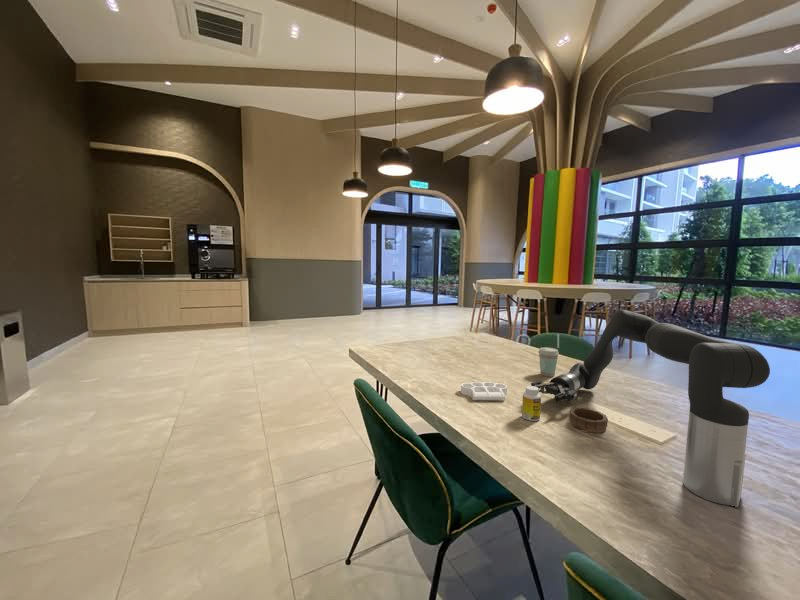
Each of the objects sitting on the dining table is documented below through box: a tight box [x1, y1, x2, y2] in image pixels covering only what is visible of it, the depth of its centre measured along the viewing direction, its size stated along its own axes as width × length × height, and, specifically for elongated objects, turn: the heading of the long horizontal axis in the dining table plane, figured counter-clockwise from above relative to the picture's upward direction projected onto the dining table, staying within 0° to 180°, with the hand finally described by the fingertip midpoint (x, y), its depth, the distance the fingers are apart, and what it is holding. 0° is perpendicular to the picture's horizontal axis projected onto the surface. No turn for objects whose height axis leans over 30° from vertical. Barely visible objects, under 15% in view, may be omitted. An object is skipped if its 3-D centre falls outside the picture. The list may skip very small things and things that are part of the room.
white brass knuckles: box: [460, 381, 508, 402], centre depth 130 cm, size 3×18×15 cm
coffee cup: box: [538, 346, 560, 378], centre depth 152 cm, size 8×9×12 cm
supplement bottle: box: [521, 385, 542, 422], centre depth 109 cm, size 6×6×10 cm
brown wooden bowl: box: [569, 407, 609, 434], centre depth 104 cm, size 10×10×4 cm
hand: (543, 395), depth 113 cm, fingers open, 8 cm apart
